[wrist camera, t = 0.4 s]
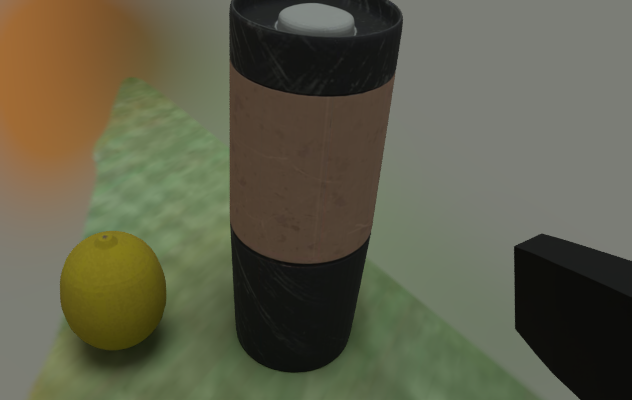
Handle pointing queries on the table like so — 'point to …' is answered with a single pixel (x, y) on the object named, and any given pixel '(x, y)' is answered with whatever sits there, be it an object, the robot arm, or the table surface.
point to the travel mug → (305, 168)
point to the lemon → (112, 290)
